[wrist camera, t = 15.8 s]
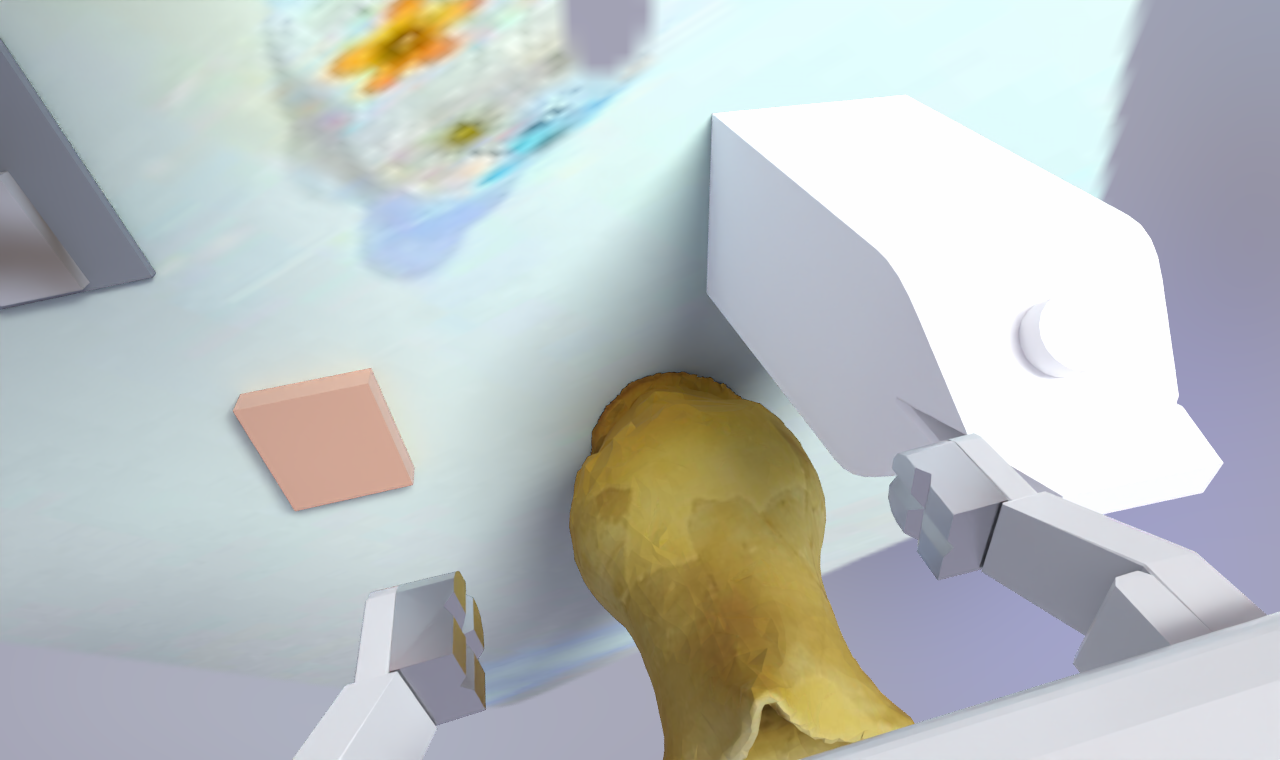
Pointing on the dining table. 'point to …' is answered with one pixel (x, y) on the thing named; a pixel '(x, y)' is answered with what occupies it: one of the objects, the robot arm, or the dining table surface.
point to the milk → (947, 300)
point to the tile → (327, 438)
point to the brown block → (31, 251)
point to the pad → (62, 187)
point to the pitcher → (720, 574)
